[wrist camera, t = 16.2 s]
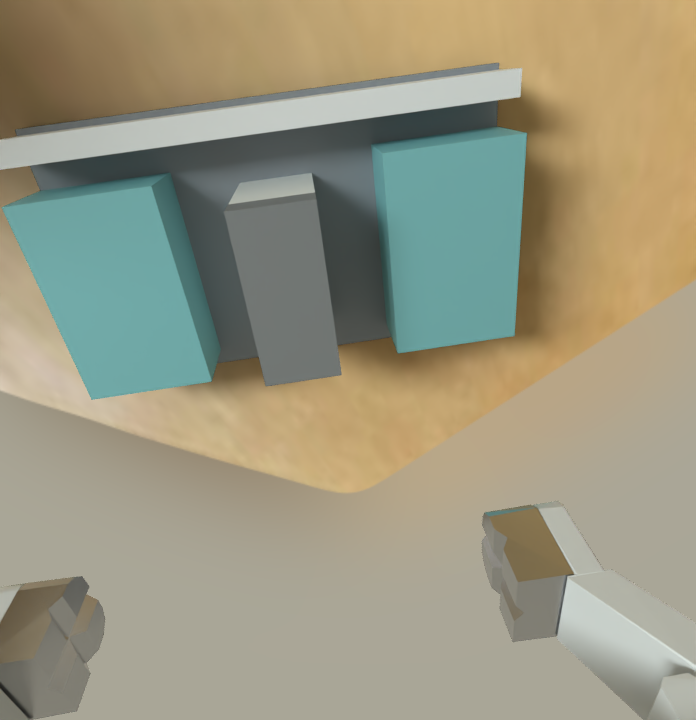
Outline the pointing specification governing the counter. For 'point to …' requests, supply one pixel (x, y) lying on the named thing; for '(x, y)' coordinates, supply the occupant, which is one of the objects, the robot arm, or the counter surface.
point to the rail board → (266, 161)
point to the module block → (284, 277)
